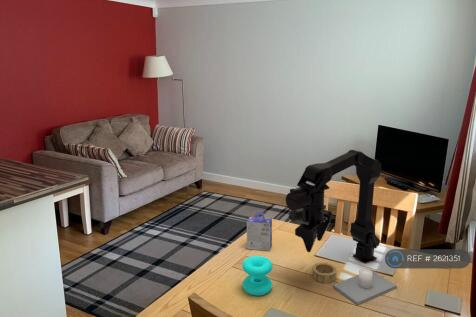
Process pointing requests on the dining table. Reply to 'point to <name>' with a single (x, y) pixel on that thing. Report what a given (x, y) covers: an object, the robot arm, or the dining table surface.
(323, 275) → the ring
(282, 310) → the dining table surface
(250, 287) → the donuts
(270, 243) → the ink cartridge box
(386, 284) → the post plate
